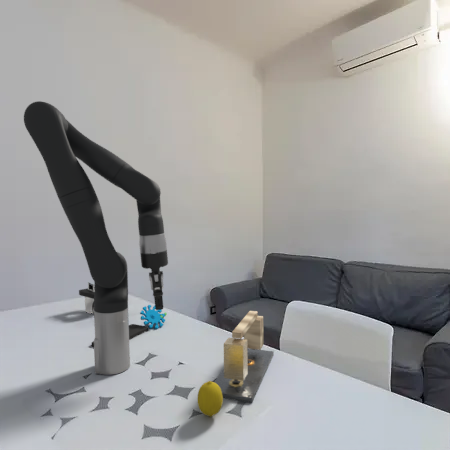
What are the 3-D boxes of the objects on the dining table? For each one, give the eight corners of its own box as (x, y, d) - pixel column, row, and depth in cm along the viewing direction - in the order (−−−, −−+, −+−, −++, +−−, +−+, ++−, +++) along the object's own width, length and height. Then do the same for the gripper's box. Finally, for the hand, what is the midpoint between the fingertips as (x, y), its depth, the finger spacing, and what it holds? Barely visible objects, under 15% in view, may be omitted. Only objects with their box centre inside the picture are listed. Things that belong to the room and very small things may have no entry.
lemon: (197, 409, 83) (196, 376, 83) (222, 408, 84) (221, 374, 83) (198, 424, 78) (197, 388, 77) (224, 423, 78) (223, 387, 78)
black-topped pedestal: (54, 313, 157) (52, 282, 156) (112, 301, 174) (111, 273, 173) (80, 330, 136) (78, 295, 135) (142, 314, 154) (141, 283, 153)
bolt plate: (238, 351, 115) (238, 313, 114) (273, 355, 111) (273, 316, 110) (208, 395, 89) (207, 347, 88) (252, 402, 86) (251, 353, 85)
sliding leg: (247, 345, 113) (247, 308, 112) (263, 347, 112) (263, 309, 111) (227, 375, 94) (227, 331, 93) (246, 378, 93) (246, 333, 92)
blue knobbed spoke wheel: (145, 328, 131) (138, 304, 137) (139, 336, 134) (132, 313, 140) (172, 325, 138) (163, 302, 144) (165, 333, 142) (157, 311, 147)
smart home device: (90, 342, 120) (131, 323, 138) (90, 347, 121) (132, 327, 138) (108, 346, 117) (149, 326, 134) (109, 351, 117) (149, 331, 134)
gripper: (140, 248, 111) (146, 300, 112) (139, 255, 97) (145, 314, 99) (165, 245, 113) (170, 296, 114) (168, 252, 99) (173, 310, 100)
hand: (159, 305), depth 106 cm, fingers open, 8 cm apart
